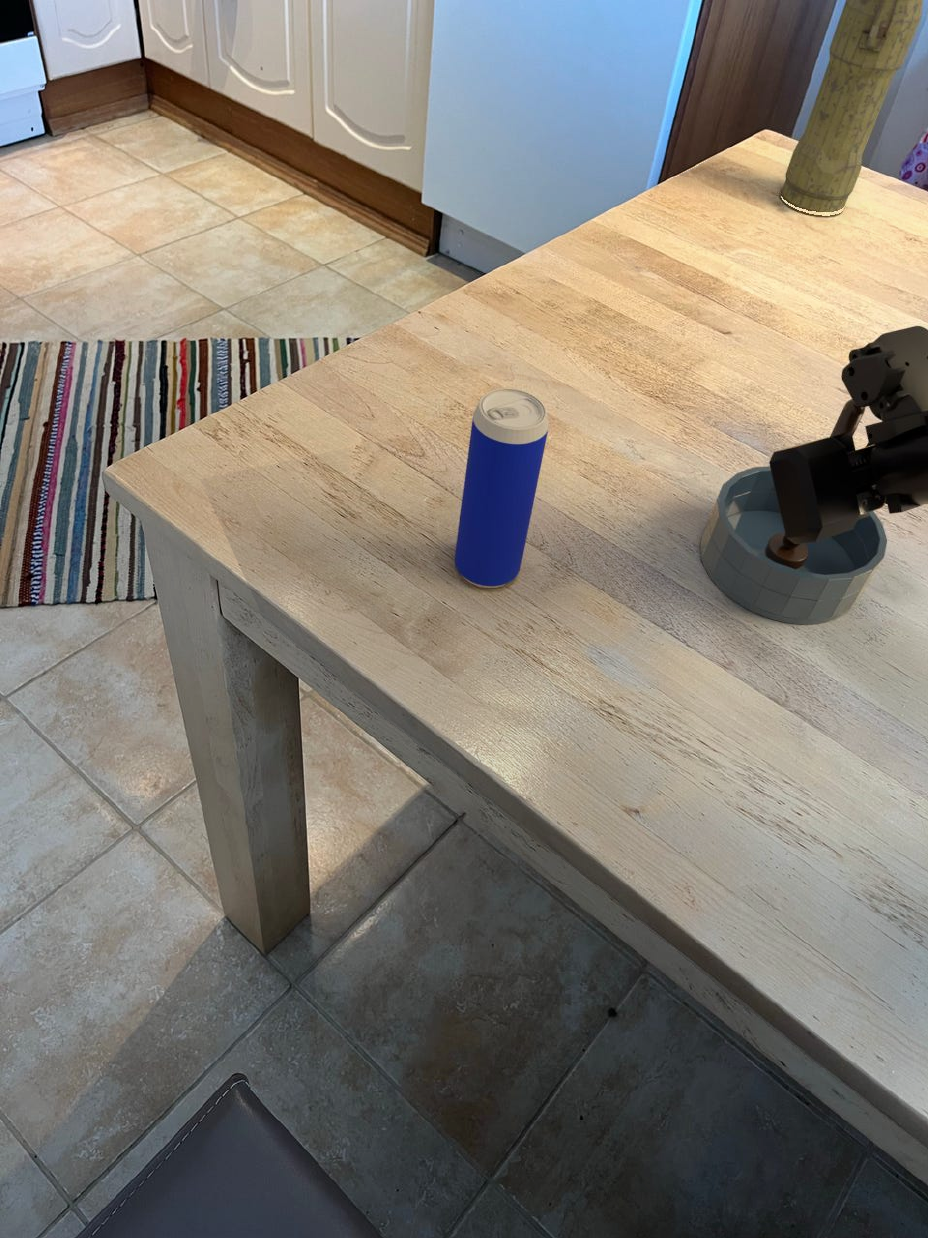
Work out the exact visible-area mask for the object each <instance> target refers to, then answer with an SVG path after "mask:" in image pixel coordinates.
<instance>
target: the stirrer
mask: <svg viewBox="0 0 928 1238" xmlns="http://www.w3.org/2000/svg"><path fill="white" fill-rule="evenodd" d="M865 412H866V407H864V408H861V407H858V406H856V405H855V403H854V402H853V400H852V398H851V399H849V400H847V401H846V402H845V404H844V406H843V407H842V410H841V412H840V414H839V416H838V419H837V420H836V423H835V425H834V427H833V429H832V430H831V434H830V435H829V437H832V436H835V435H839V434H842V433H846V432H849V431H852V436H854V435H855V432H856V431H857V428H858V427H859V424H860V422H861V420H862V418H863V417H864V414H865ZM765 555H766V557H767V558H769V559H771V560H772V561H774V562H776V563H779V564H782V565H784V566H787V567H790V568H793V569H798V568H800V567H801V566H803V564H804V563H805V561H806V559H807V557H808V548H807V546H806V545H805V543H800V544H794V543H792V542H791V541H790V540H788V539H787V538H786V534H777V535H774V536H772V537H771V538H770V539H769V541H768V544H767V546H766V548H765Z"/></svg>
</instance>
